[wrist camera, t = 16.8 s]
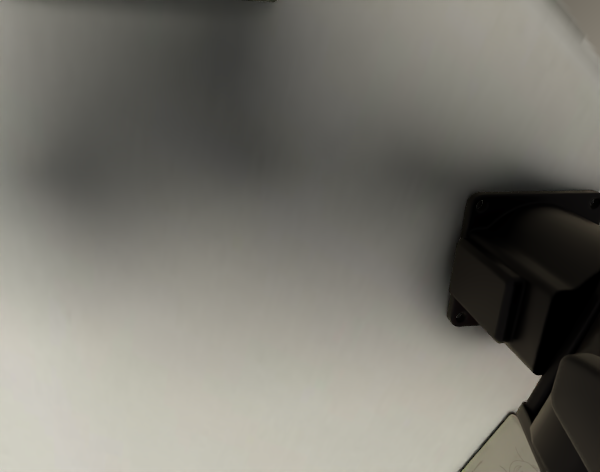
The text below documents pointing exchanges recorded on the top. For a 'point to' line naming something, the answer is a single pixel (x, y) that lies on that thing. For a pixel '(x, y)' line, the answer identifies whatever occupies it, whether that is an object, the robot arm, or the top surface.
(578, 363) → the robot arm
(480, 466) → the small box
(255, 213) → the top surface
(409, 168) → the top surface
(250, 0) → the green open square container
